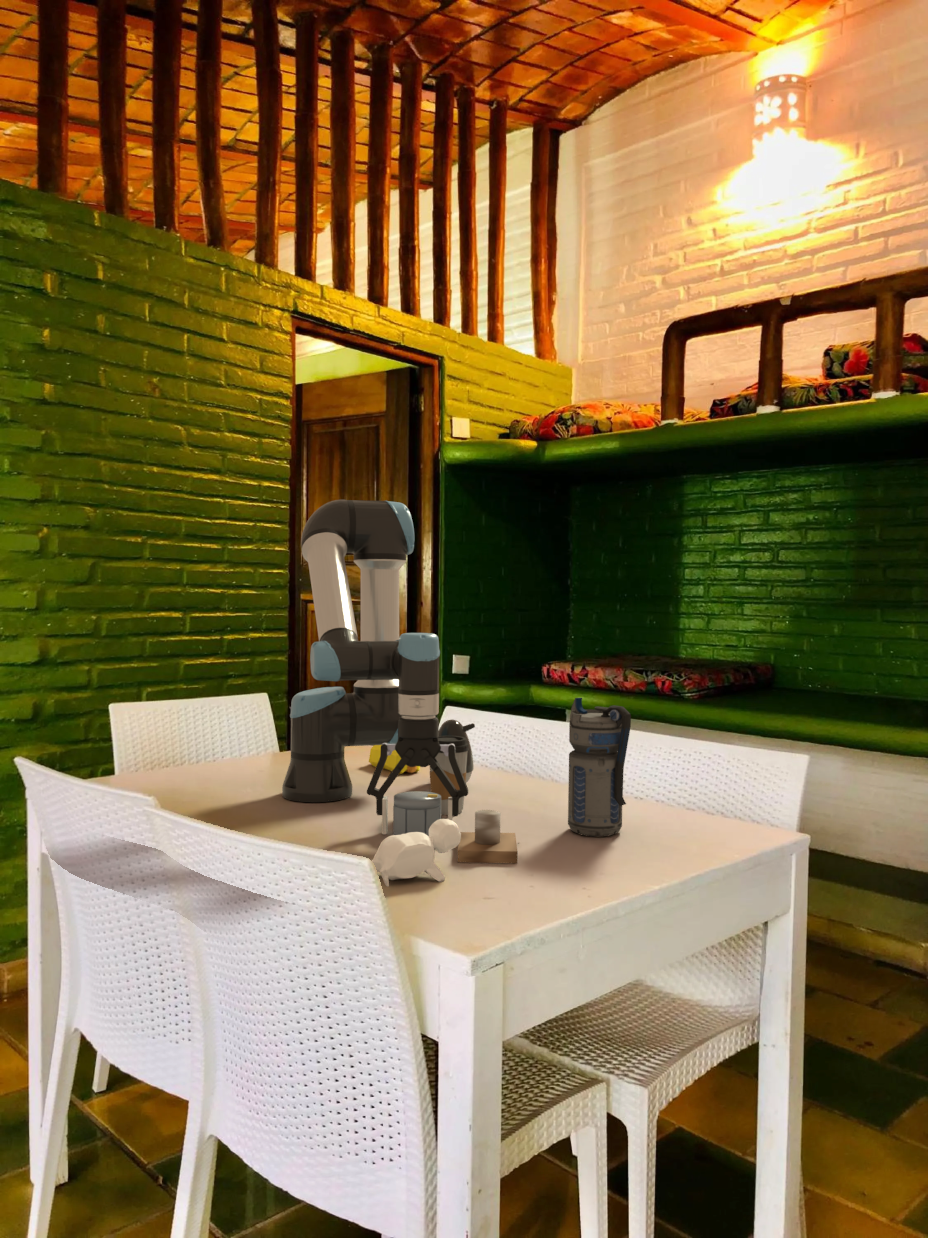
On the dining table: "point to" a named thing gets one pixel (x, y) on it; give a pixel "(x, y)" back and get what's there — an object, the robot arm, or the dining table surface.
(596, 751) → the beverage bottle
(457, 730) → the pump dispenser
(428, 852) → the white animal figurine
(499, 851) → the stud base
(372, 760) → the yellow faceted long part
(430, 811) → the cap
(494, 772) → the dining table surface
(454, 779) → the coffee cup
